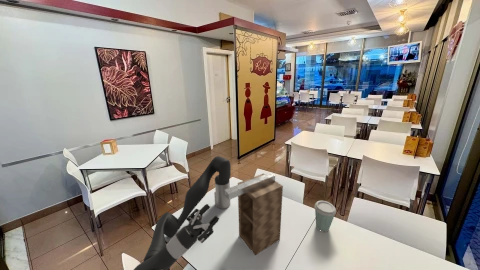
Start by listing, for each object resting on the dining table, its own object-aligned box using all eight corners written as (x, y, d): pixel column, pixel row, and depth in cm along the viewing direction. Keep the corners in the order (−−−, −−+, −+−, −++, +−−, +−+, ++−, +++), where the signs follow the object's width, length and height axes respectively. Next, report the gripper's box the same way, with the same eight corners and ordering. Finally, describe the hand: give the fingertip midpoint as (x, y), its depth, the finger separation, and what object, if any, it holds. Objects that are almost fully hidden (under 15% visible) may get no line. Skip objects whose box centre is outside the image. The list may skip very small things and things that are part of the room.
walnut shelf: (255, 255, 92) (255, 197, 83) (239, 235, 104) (237, 183, 94) (279, 239, 101) (282, 185, 91) (262, 223, 112) (263, 173, 102)
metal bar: (228, 199, 82) (228, 193, 81) (224, 195, 84) (224, 189, 83) (275, 180, 95) (275, 175, 94) (270, 177, 98) (270, 172, 97)
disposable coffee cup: (329, 221, 112) (332, 199, 107) (336, 236, 102) (340, 212, 97) (310, 220, 113) (312, 198, 108) (315, 235, 103) (318, 211, 98)
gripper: (181, 251, 68) (216, 216, 73) (170, 226, 80) (201, 197, 84) (193, 259, 72) (225, 225, 77) (181, 234, 83) (210, 206, 88)
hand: (213, 210), depth 81 cm, fingers open, 8 cm apart
